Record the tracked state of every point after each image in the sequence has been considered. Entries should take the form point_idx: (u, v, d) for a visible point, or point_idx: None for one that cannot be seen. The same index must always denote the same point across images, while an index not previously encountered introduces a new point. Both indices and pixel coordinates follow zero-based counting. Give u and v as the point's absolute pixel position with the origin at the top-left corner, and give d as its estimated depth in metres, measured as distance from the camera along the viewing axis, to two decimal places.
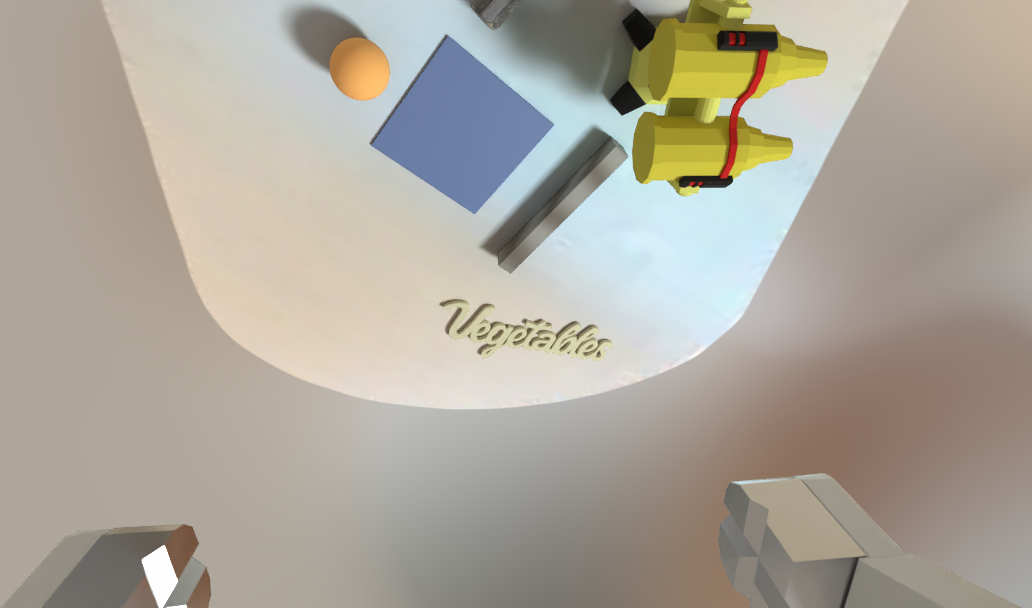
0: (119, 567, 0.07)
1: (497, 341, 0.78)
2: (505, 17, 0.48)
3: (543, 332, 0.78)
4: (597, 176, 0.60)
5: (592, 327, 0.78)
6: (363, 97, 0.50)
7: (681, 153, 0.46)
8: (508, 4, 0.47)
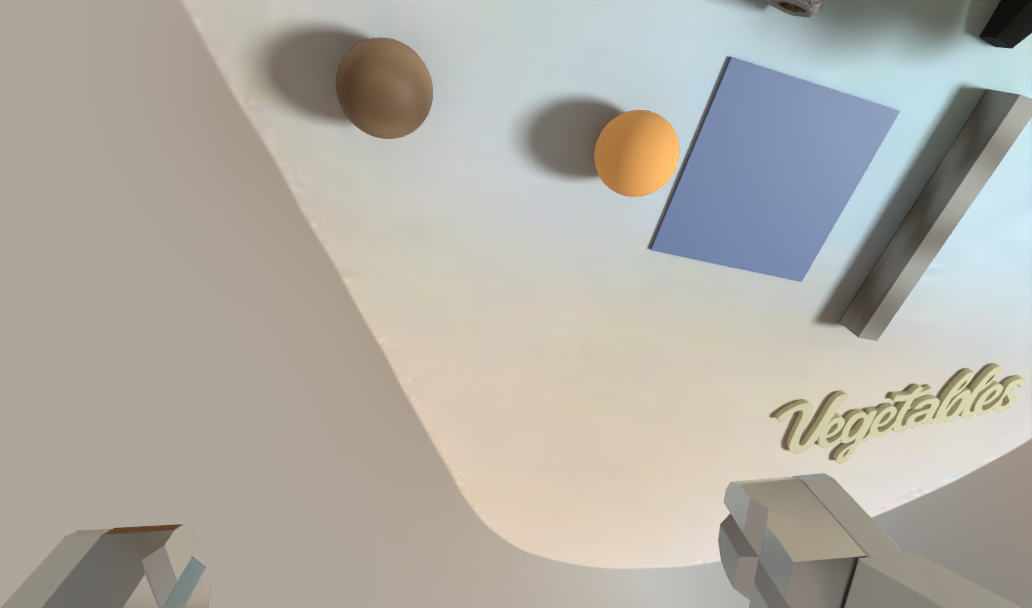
0: (119, 567, 0.07)
1: (856, 435, 0.55)
2: None
3: (919, 400, 0.54)
4: (993, 153, 0.38)
5: (990, 367, 0.53)
6: (657, 188, 0.34)
7: None
8: None
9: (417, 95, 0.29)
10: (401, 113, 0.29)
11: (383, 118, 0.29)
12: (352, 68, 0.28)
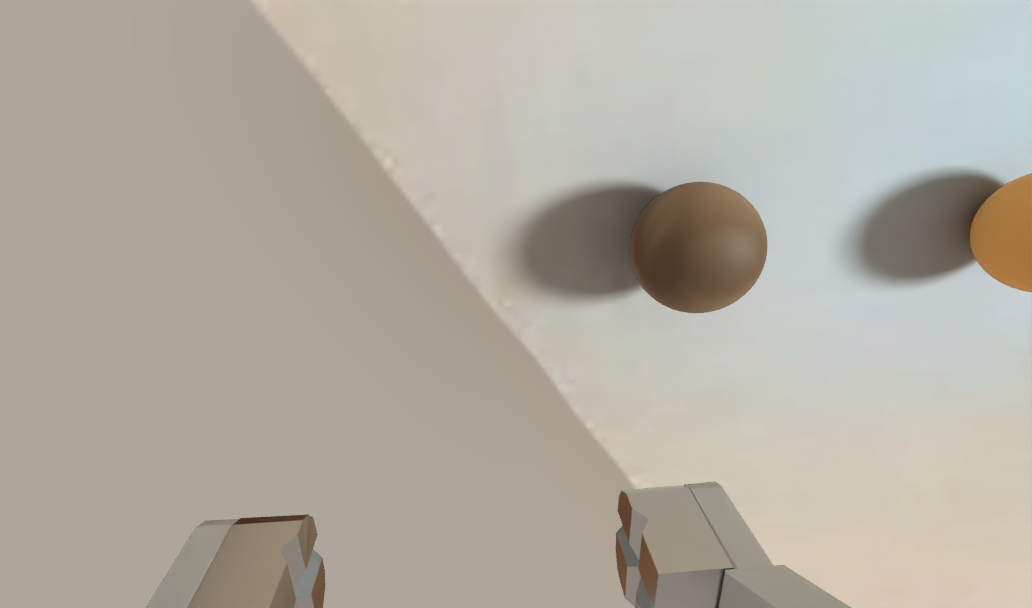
0: (259, 555, 0.07)
1: None
2: None
3: None
4: None
5: None
6: None
7: None
8: None
9: (763, 249, 0.20)
10: (747, 280, 0.20)
11: (724, 293, 0.20)
12: (673, 239, 0.20)
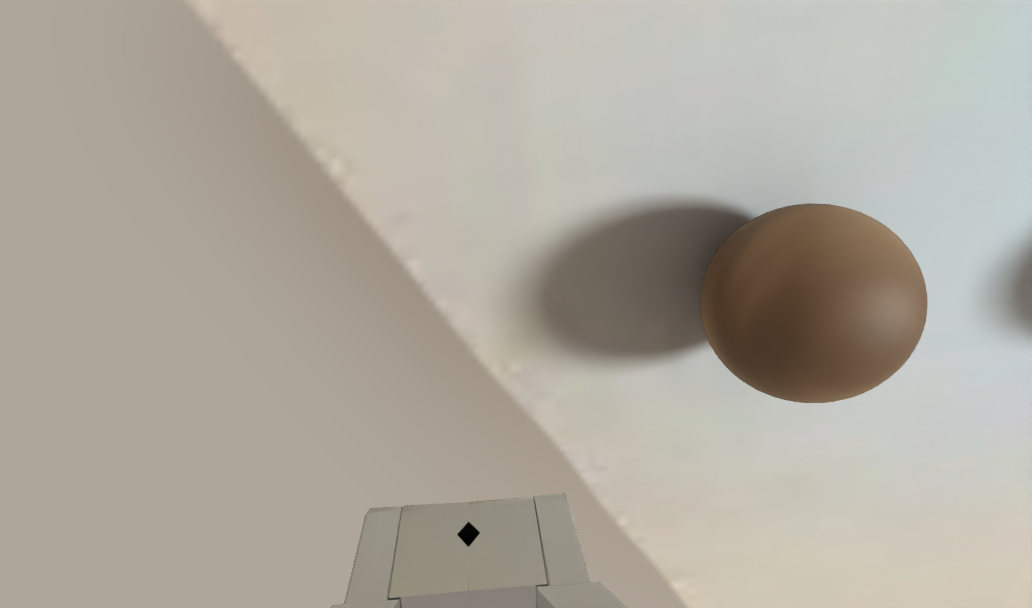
0: (439, 541, 0.07)
1: None
2: None
3: None
4: None
5: None
6: None
7: None
8: None
9: (925, 314, 0.13)
10: (900, 363, 0.13)
11: (863, 384, 0.13)
12: (787, 301, 0.13)
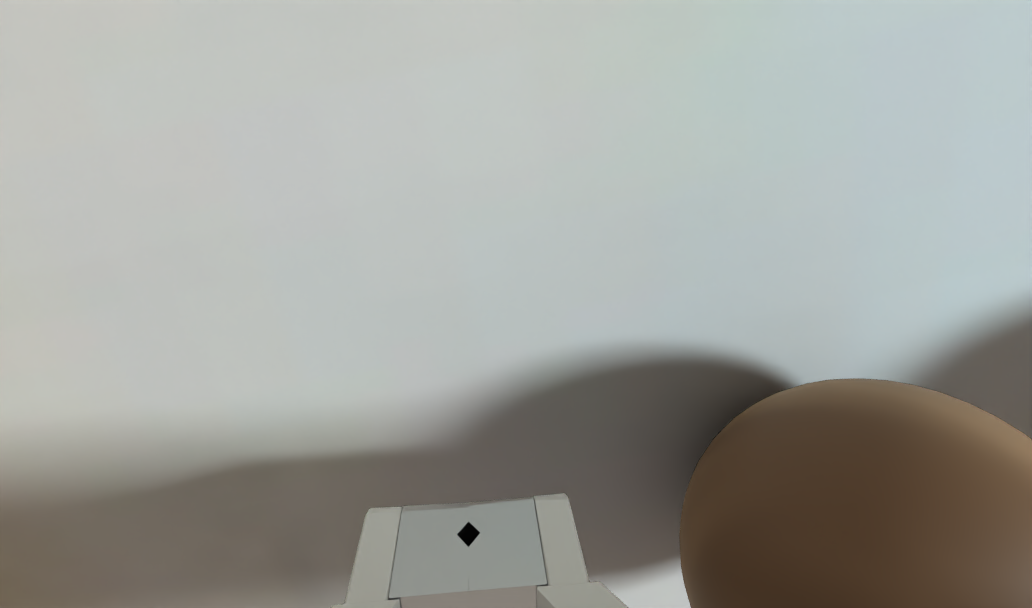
0: (439, 541, 0.07)
1: None
2: None
3: None
4: None
5: None
6: None
7: None
8: None
9: None
10: None
11: None
12: None
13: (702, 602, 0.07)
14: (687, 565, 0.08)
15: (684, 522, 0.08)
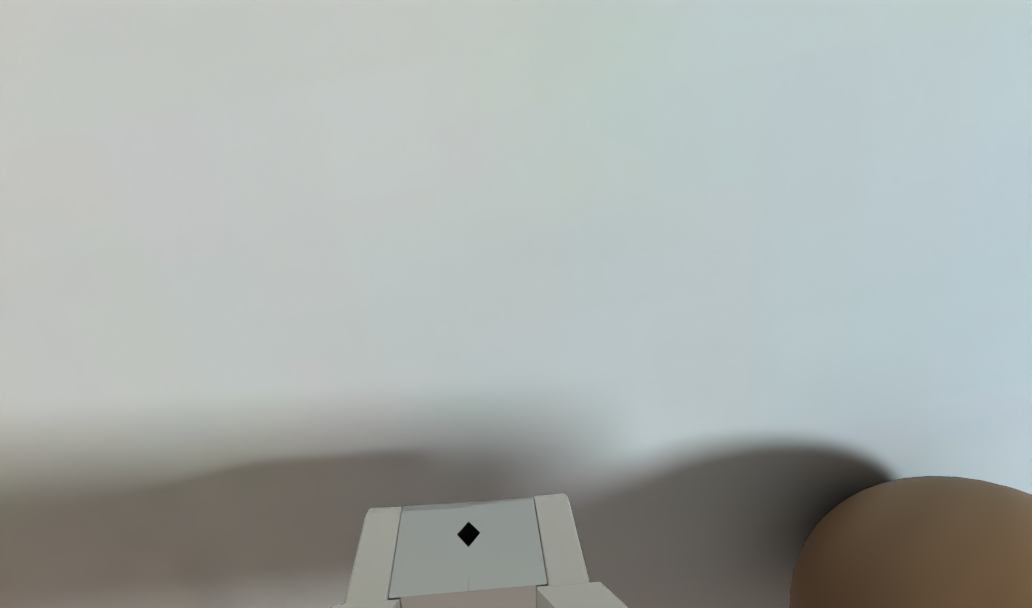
0: (439, 541, 0.07)
1: None
2: None
3: None
4: None
5: None
6: None
7: None
8: None
9: (837, 601, 0.08)
10: (796, 572, 0.10)
11: None
12: None
13: None
14: None
15: None
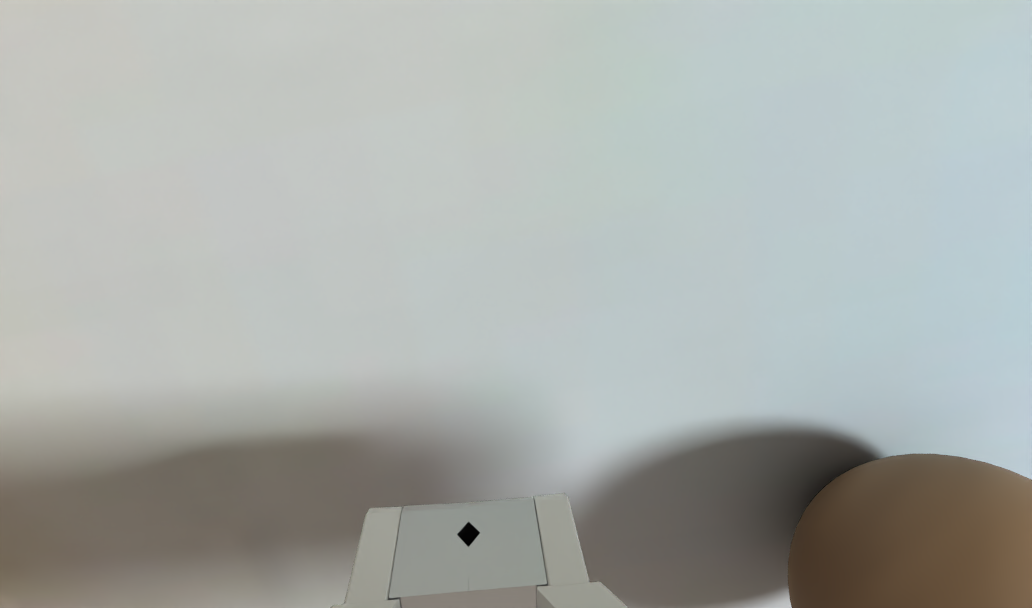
0: (439, 541, 0.07)
1: None
2: None
3: None
4: None
5: None
6: None
7: None
8: None
9: (827, 561, 0.09)
10: (793, 542, 0.11)
11: None
12: None
13: None
14: None
15: None
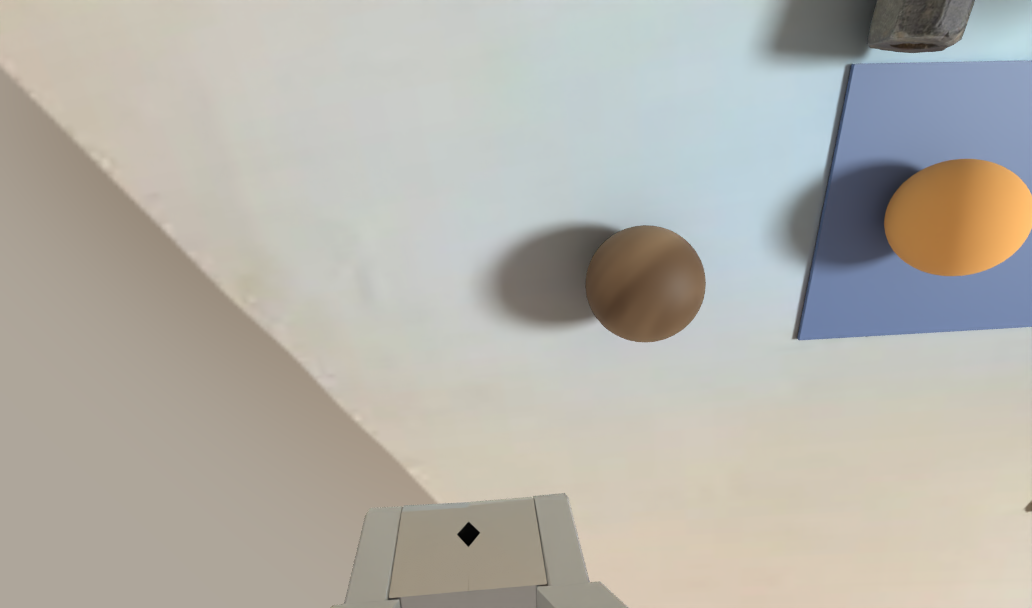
0: (439, 541, 0.07)
1: None
2: None
3: None
4: None
5: None
6: (889, 243, 0.26)
7: None
8: None
9: (591, 262, 0.25)
10: None
11: None
12: None
13: (657, 333, 0.23)
14: (645, 331, 0.23)
15: (636, 323, 0.23)
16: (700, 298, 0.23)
